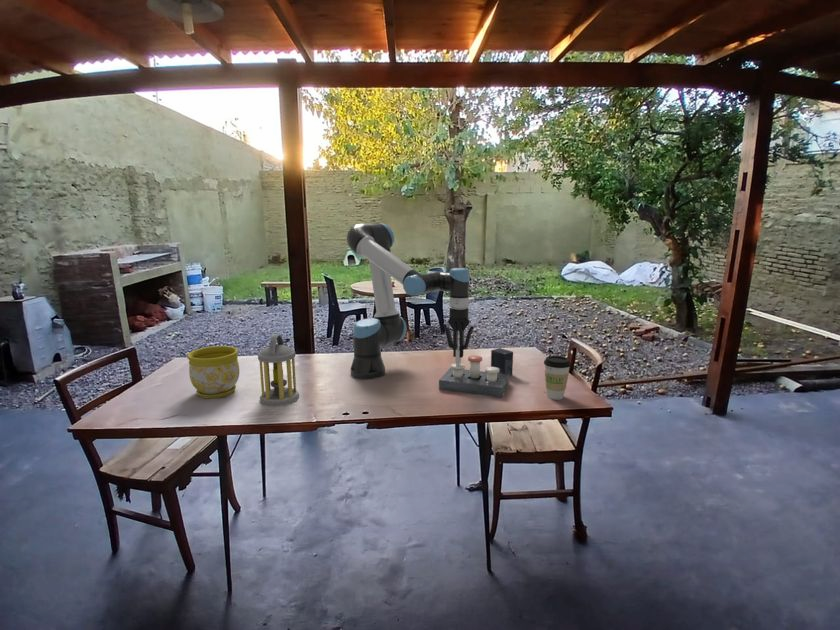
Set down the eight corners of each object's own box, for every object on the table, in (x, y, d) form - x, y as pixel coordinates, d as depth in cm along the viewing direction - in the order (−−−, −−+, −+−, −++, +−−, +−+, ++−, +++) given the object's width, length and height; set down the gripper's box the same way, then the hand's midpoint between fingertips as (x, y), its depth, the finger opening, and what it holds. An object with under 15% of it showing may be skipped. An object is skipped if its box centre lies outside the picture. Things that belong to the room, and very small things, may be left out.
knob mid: (466, 378, 189) (466, 358, 187) (469, 373, 194) (470, 355, 192) (480, 379, 187) (480, 360, 185) (483, 375, 192) (483, 356, 190)
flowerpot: (218, 404, 174) (214, 361, 170) (180, 397, 180) (175, 356, 177) (251, 387, 190) (248, 348, 187) (215, 382, 197) (212, 343, 193)
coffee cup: (536, 394, 183) (538, 356, 180) (557, 390, 187) (559, 353, 184) (553, 403, 174) (555, 364, 171) (574, 399, 178) (577, 361, 175)
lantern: (267, 391, 186) (263, 329, 181) (303, 391, 186) (300, 330, 180) (254, 405, 172) (248, 339, 167) (292, 406, 172) (288, 339, 167)
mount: (438, 389, 188) (439, 380, 187) (450, 376, 203) (450, 367, 202) (501, 397, 180) (502, 387, 179) (508, 383, 194) (509, 374, 194)
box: (512, 374, 205) (513, 351, 203) (503, 377, 202) (504, 353, 199) (498, 370, 211) (499, 347, 209) (490, 373, 207) (490, 349, 205)
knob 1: (449, 385, 192) (449, 366, 190) (452, 380, 197) (453, 362, 195) (462, 387, 190) (462, 368, 188) (466, 382, 195) (466, 363, 193)
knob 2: (483, 389, 187) (483, 370, 185) (486, 384, 192) (486, 366, 191) (497, 391, 185) (497, 372, 184) (499, 386, 190) (500, 367, 189)
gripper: (440, 308, 185) (440, 365, 190) (472, 310, 181) (471, 369, 186) (445, 304, 192) (445, 360, 197) (477, 306, 188) (476, 363, 193)
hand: (458, 364), depth 192 cm, fingers closed
